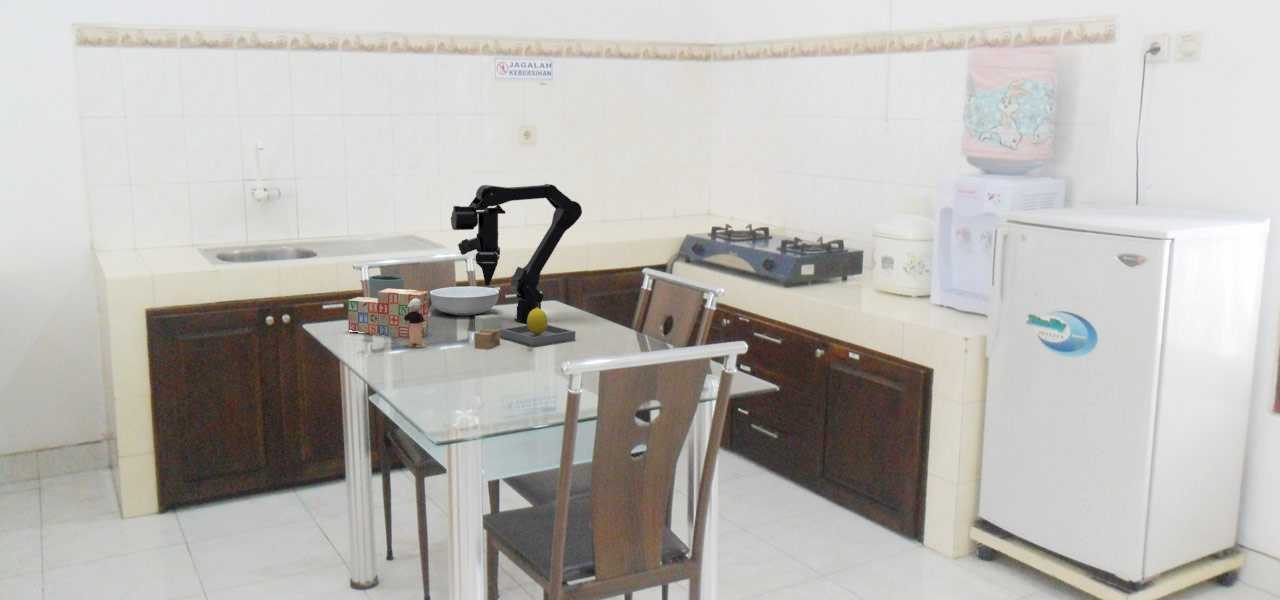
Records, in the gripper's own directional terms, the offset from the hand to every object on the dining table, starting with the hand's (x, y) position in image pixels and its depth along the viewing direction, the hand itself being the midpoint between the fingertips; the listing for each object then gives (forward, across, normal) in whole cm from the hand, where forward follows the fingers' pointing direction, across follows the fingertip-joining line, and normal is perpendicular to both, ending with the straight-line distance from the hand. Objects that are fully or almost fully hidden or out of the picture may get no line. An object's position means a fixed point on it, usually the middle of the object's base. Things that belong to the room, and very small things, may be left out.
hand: (488, 282), depth 313 cm
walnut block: (+12, +31, +1) cm, 33 cm away
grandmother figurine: (+12, +31, -17) cm, 38 cm away
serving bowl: (+12, -17, -8) cm, 22 cm away
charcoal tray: (+12, +22, +14) cm, 29 cm away
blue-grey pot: (+12, -9, -30) cm, 34 cm away
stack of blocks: (+12, +15, -26) cm, 33 cm away
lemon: (+11, +22, +14) cm, 28 cm away
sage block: (+12, +9, 0) cm, 15 cm away
